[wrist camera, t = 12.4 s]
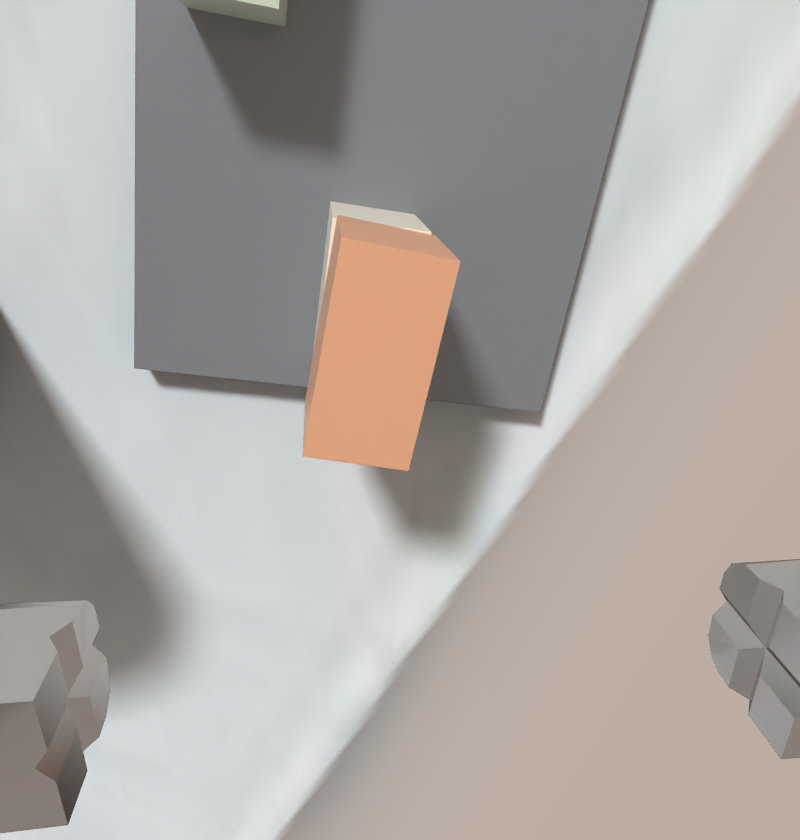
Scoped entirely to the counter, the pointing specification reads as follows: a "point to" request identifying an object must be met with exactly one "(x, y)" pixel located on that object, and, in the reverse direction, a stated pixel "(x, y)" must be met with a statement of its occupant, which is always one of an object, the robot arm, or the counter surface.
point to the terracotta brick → (376, 343)
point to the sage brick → (244, 9)
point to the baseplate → (370, 173)
